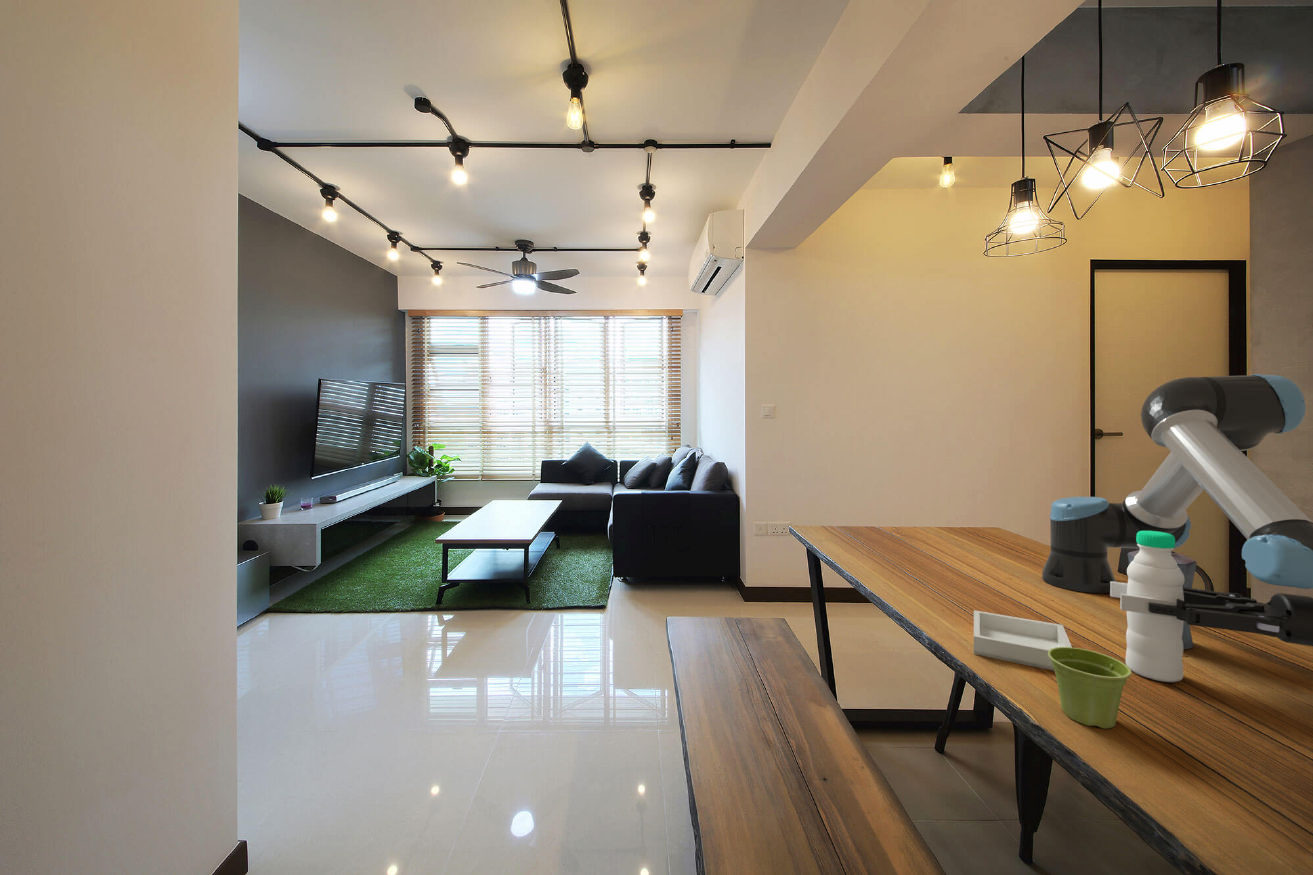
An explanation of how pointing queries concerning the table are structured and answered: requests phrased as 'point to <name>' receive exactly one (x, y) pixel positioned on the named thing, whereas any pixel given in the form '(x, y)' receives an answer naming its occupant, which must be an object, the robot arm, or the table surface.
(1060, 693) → the plant pot
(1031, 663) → the white tray
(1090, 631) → the table surface
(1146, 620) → the water bottle
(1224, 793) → the table surface
